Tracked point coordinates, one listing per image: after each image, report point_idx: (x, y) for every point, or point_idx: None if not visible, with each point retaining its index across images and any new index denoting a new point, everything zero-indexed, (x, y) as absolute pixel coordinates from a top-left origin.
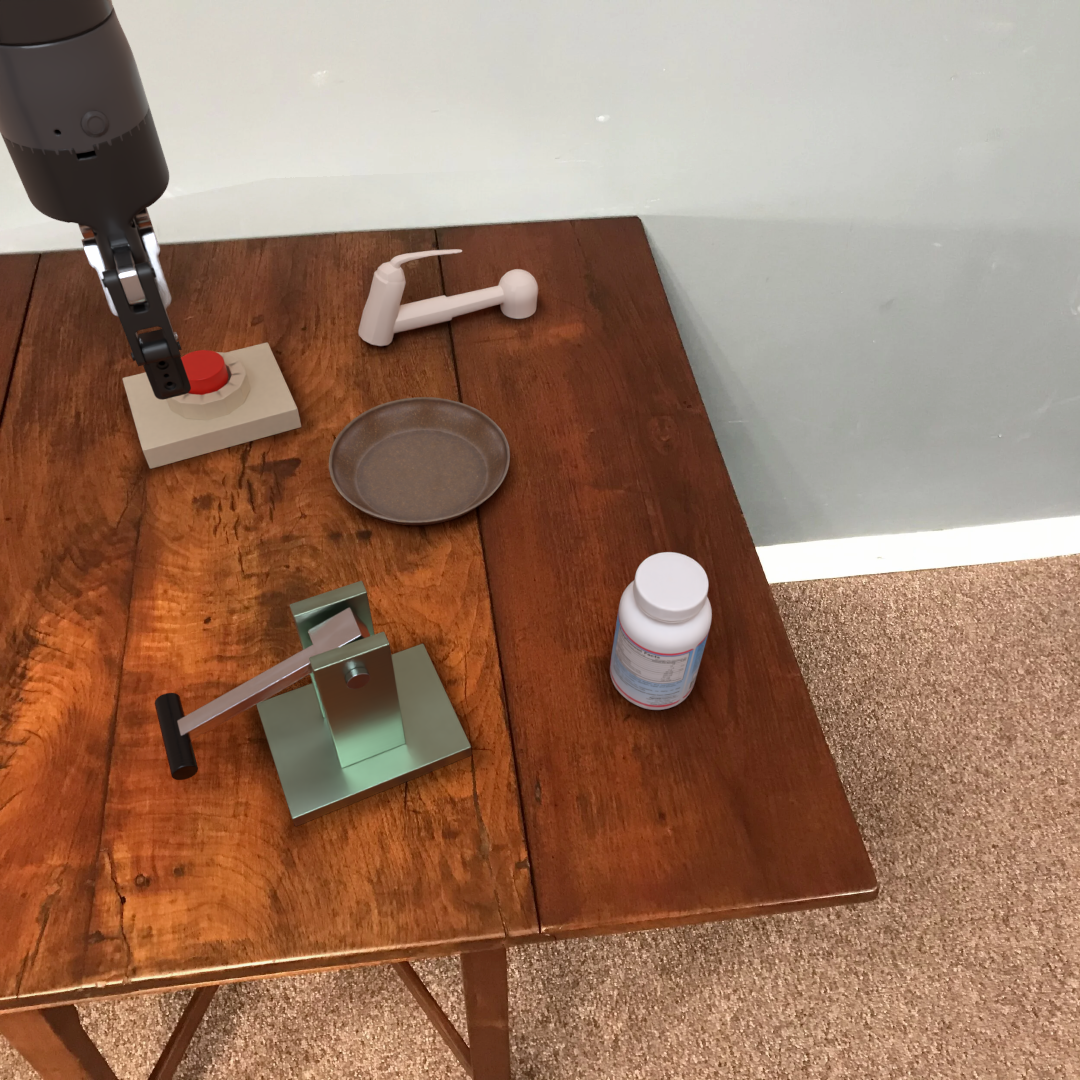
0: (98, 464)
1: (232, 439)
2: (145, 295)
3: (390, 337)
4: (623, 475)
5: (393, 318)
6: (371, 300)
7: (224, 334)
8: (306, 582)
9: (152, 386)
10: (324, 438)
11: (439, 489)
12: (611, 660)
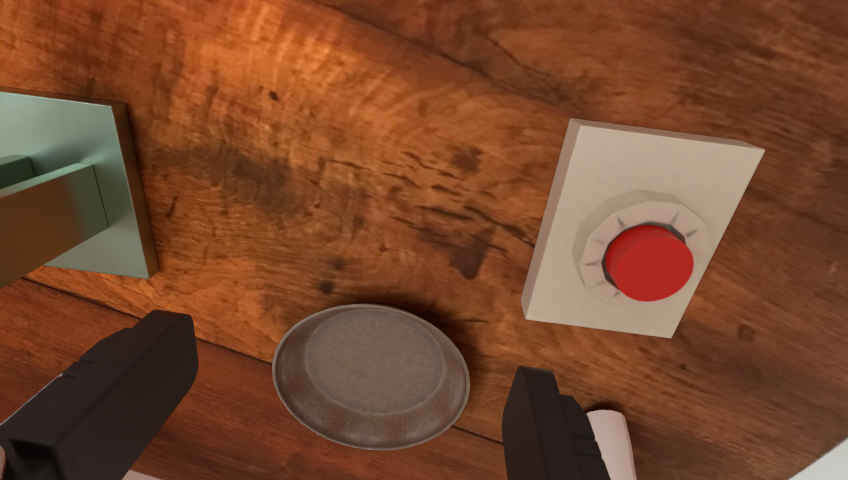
0: (632, 51)
1: (542, 232)
2: (520, 463)
3: None
4: (299, 472)
5: None
6: (617, 466)
7: (756, 292)
8: (286, 214)
9: (126, 336)
10: (487, 312)
11: (345, 368)
12: None
